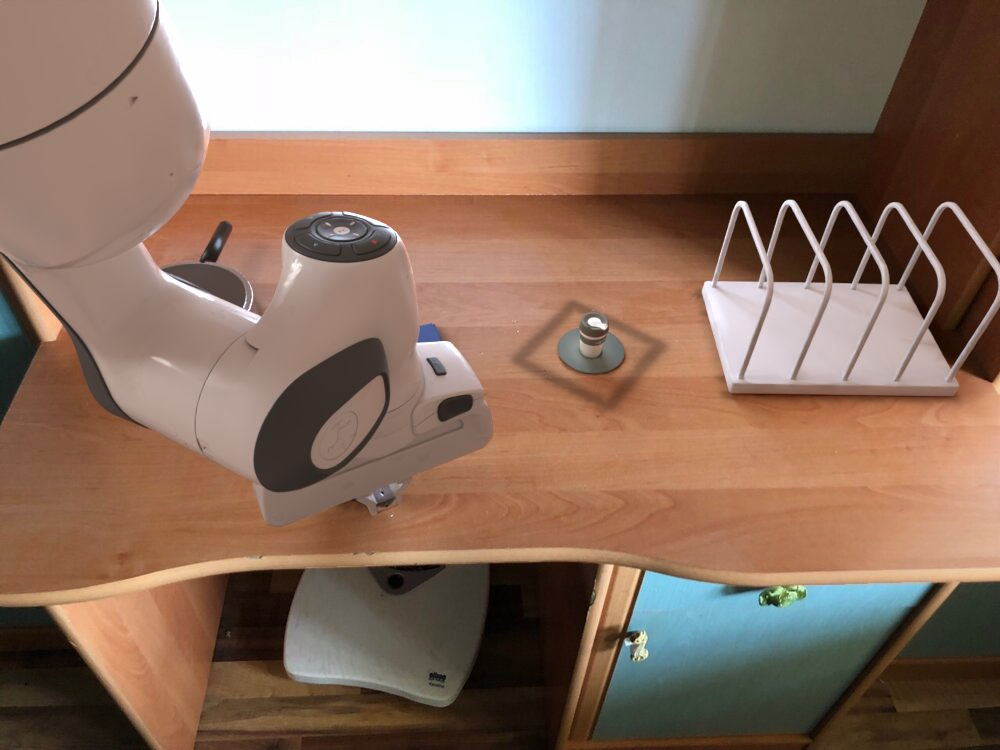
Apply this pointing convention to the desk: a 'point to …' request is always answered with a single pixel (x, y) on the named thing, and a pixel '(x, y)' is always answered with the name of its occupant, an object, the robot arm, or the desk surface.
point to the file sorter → (834, 321)
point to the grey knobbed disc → (591, 346)
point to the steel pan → (216, 273)
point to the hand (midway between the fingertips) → (384, 504)
